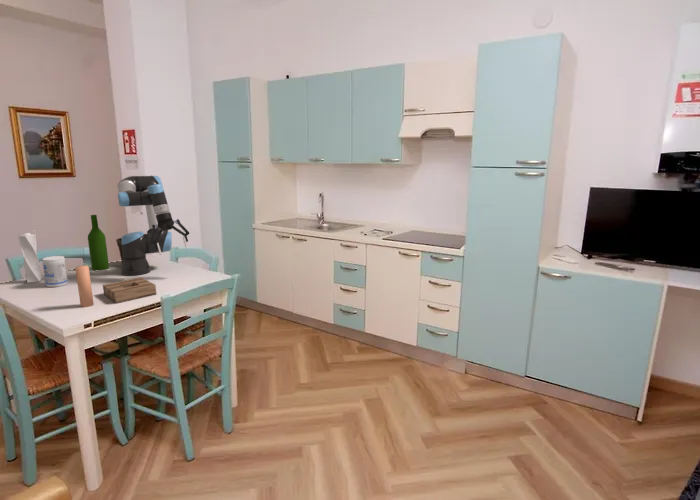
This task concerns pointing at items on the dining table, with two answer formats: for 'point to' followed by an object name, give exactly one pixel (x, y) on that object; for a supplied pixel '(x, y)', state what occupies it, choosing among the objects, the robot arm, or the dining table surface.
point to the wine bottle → (97, 247)
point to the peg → (84, 286)
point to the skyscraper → (30, 257)
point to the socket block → (129, 290)
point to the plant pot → (120, 249)
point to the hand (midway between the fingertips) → (174, 251)
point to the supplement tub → (55, 271)
